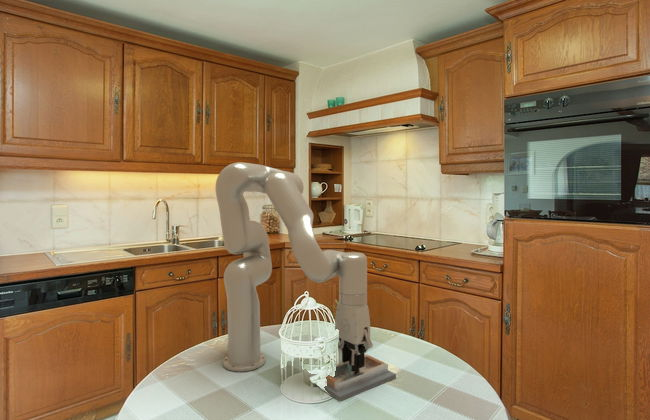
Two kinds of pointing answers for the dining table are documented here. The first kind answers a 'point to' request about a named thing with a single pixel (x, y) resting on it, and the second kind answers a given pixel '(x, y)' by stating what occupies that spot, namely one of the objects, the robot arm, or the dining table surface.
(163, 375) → the dining table surface
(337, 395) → the panel
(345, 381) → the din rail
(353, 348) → the round cylindrical fitting
